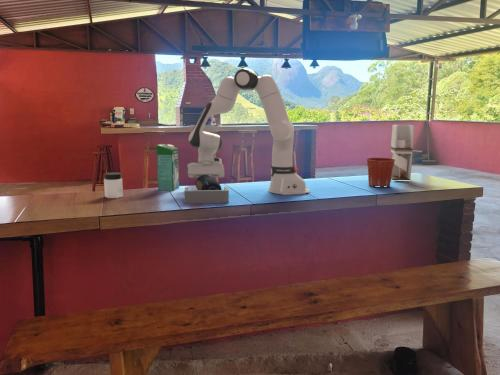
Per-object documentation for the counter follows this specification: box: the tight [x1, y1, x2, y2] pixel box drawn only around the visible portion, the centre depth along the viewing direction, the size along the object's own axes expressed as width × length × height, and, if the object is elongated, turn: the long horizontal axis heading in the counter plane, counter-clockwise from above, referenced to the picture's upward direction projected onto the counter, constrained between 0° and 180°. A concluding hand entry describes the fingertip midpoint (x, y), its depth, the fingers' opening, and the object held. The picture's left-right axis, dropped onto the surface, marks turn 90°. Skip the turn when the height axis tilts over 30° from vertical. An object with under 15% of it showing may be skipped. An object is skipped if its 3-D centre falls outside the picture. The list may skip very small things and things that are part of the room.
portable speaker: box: [195, 175, 223, 190], centre depth 220 cm, size 25×10×10 cm, turn 17°
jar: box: [103, 171, 124, 199], centre depth 217 cm, size 9×8×12 cm
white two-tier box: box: [390, 124, 415, 181], centre depth 270 cm, size 11×11×35 cm
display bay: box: [183, 186, 230, 204], centre depth 209 cm, size 21×10×6 cm, turn 96°
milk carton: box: [156, 143, 180, 192], centre depth 237 cm, size 9×9×25 cm
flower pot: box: [365, 157, 395, 187], centre depth 252 cm, size 16×16×16 cm
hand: (206, 182), depth 232 cm, fingers closed
